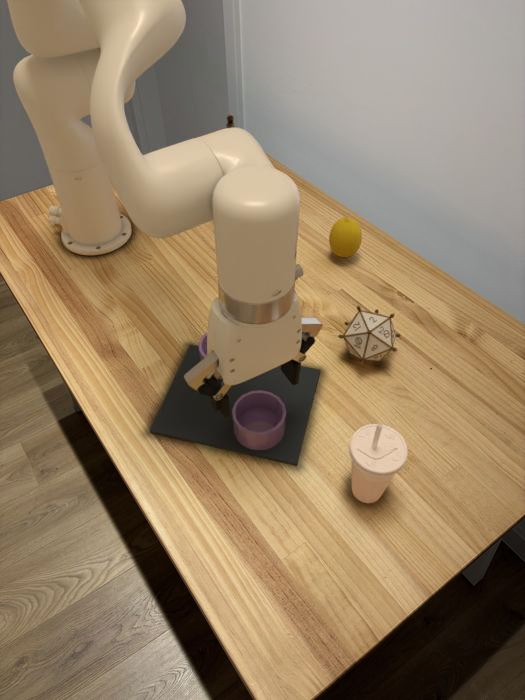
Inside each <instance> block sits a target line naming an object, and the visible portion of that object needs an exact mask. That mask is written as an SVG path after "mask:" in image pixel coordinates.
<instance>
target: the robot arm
mask: <svg viewBox="0 0 525 700" xmlns="http://www.w3.org/2000/svg"><path fill="white" fill-rule="evenodd" d="M6 3H7V6H8V11H9V15H10V20H11V24H12V27H13V30H14V32H15V36H16V38H17V40H18V42H19V44H20V45H21V46H22V48H23V49H24V50H25V51H26V52H27V53H28V54H29V55H28V56H25V57H24V58H21V60H19V62H17V64H16V66H15V67H14V70H13V73H12V79H13V80H12V81H13V85H14V89H15V91H16V93H17V94H16V95H17V96H18V98H19V100H20V102H21V104H22V106H23V108H24V110H25V112H26V114H27V117H28V118H29V120H30V123H31V125H32V127H33V129H34V132H35V134H36V137H37V140H38V142H39V146H40V148H41V150H42V154H43V157H44V160H45V163H46V166H47V169H48V172H49V175H50V178H51V181H52V184H53V187H54V191H55V194H56V197H57V200H58V204H59V205H60V206H57V205H50V206H49V207H48V215H49V217H48V224H53V225H59V226H60V227H61V234H60V237H61V241H62V243H63V244H62V245H64V247H65V248H66V250H68V251H70V252H72V253H75V254H78V255H81V256H100V255H105V254H107V253H111V252H113V251H115V250H118V249H119V248H121V247H122V246H124V245H125V244H126V243H127V242H128V241H129V239H130V238H131V235H132V232H133V229H132V224H131V221H132V223H133V224H134V226H136V227H137V228H138V230H140V231H141V233H143V234H144V235H146V236H148V237H151V238H155V239H168V238H170V237H173V236H176V235H179V234H182V233H185V232H187V231H189V230H192V229H194V228H197V227H199V226H202V225H204V224H206V223H209V222H211V221H213V233H214V245H215V258H216V272H217V273H216V275H217V288H218V297H217V298H215V299H213V300H212V302H211V305H210V308H209V314H208V319H207V329H206V330H207V331H206V332H207V356H206V357H205V358H204V359H203V360H202V361H200V362H199V363H198V364H197V365H196V366H194V367H193V368H192V369H191V370H189V371H188V372H187V373H186V374H185V375H184V378H185V380H186V381H187V383H188V385H189V386H190V387H192V388H193V389H195V390H197V391H198V392H199V393H200V394H201V395H206V396H210V402H211V405H212V407H213V408H214V410H215V411H218V410H220V412H221V414H222V415H223V417H224V418H227V417H229V415H230V408H229V397H228V395H227V394H226V393H227V391H228V390H229V389H230V387H231V386H232V385H236V384H239V383H242V382H244V381H247V380H249V379H251V378H254V377H256V376H258V375H260V374H262V373H265V372H267V371H269V370H271V369H273V368H275V367H278V366H280V365H281V371H282V372H283V373H284V375H285V376H286V377H287V379H288V380H289V381H290V382H291V384H292V385H296V384H298V383H299V372H300V368H301V366H302V363H303V362H304V361H305V360H306V359H307V354H306V353H307V352H308V351H309V350H310V348H312V347H313V345H315V343H316V339H315V338H317V337H318V335H319V333H320V331H321V330H322V329H323V327H324V325H323V323H322V322H321V321H320V320H319V319H318V318H317V317H302V311H301V306H300V305H301V304H300V300H299V297H298V293H297V291H296V287H295V286H296V281H297V280H298V279H299V278H301V277H303V276H304V268H303V267H302V265H301V264H299V263H297V252H298V241H299V239H298V238H299V226H300V212H301V211H300V210H301V195H300V192H299V188H298V186H297V184H296V182H295V181H294V180H293V179H292V177H290V176H289V175H288V174H286V173H285V172H283V171H281V170H279V169H276V168H275V167H274V165H273V164H272V162H271V160H270V159H269V157H268V155H267V154H266V152H265V151H264V149H263V147H262V145H261V144H260V143H259V142H258V140H256V138H255V137H254V136H253V135H252V134H251V133H250V132H249V131H247V130H245V128H244V129H243V128H241V127H235V128H227V127H226V128H223V129H222V128H221V129H219V130H216V131H212V132H210V133H206V134H203V135H201V136H197V137H193V138H189V139H187V140H183V141H180V142H177V143H175V144H171V145H168V146H165V147H162V148H159V149H157V150H153V151H150V152H148V153H145V154H143V153H142V152H141V150H140V149H139V147H138V145H137V143H136V140H135V138H134V135H133V134H132V132H131V129H130V126H129V123H128V119H127V115H126V113H125V112H126V111H125V104H126V103H128V102H130V100H132V98H133V97H134V94H135V91H136V80H138V79H139V77H140V76H142V75H143V74H144V73H145V72H146V71H147V70H148V69H149V68H151V67H152V66H153V65H154V64H155V63H156V62H158V61H159V60H160V59H162V57H164V56H165V54H167V53H168V52H169V51H170V50H171V49H172V47H173V46H174V45H176V44H177V42H178V40H179V39H180V37H181V36H182V34H183V32H184V30H185V26H186V22H187V14H186V9H185V6H184V3H183V1H182V0H6ZM87 116H90V125H91V126H90V125H89V124H87V123H86V122H84V121H83V120H82V119H83V118H86V117H87ZM115 191H116V194H117V196H118V198H119V200H120V202H121V204H122V206H123V208H124V209H125V212H126V213H127V215H128V216H129V218H130V220H131V221H130V220H129V218H128V217H126V216H125V214H122V213H120V210H119V206H118V202H117V197H116V194H115ZM220 376H221V377H222V379H223V381H222V382H221V384H220V383H219V382H218V381H217V379H218V378H219V377H220ZM205 377H206V378H205Z"/></svg>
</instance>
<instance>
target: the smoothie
mask: <svg viewBox="0 0 525 700" xmlns="http://www.w3.org/2000/svg"><path fill="white" fill-rule="evenodd" d="M348 444H349V445H348V455H349V457H350V460H351V462H350V463H351V464H350V465H351V492H352V494H353V496H354V498H355V499H356V500H358V501H360V502H361V503H364V504H374V503H376V502H378V501H379V500H380V498H381V497H382V496H383V494H384V492H385V491H386V489H387V488H388V486H389V485H390V483H391V482H392V480H393V478H394V477H395V476H396V474H399V473H400V472H401V471H402V470H403V469H404V467H405V465H406V464H407V459H408V453H409V451H408V444H407V442H406V439H404V437H403V436H402V434H401V433H399V432H398V431H397V430H396V429H394V428H393V427H391V426H388V425H385V424H383V423H381V422H378V423H368V424H365V425H362V426H361V427H359V428H358V429H356V430H355V431H354V433H352V435H351V438H350V441H349V443H348Z"/></svg>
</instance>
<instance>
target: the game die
mask: <svg viewBox="0 0 525 700" xmlns="http://www.w3.org/2000/svg"><path fill="white" fill-rule="evenodd" d="M356 309H357V312H356V314H355V315H354V316H353V318H351V320H350V321H349V322H348V321H344V322H343V324H344V326H346V329H345V331H344V333H343V334H339V335H338V336H337V338H339V339H343V340H344V342H345V345H346V347H347V349H348V352H349V353H347V354H346V358H350V357H351V356H354V357H356V358H358V359H359V360H360V365H364V364H365V361H368V362H369V361H370V362H378V365H379V366H381V367H382V366H383V361H382V360H383V359H384V358H385V357H386V356H387V355H388V354H389V353H390V352H391V351H392V352H398V349H397V347H394V345H395V343H396V342H395V341H396V338H400V337H401V336H402V335H401V334H400V333H396V331H395V328H394V324H393V321H392V319H393V318H395V313H394V312H393V313H391V314H390V315H389V316H388V315H384V314H381V313H379V309H378V308H377V309H375V310H374V312H372V311H367V310H361V309H362V308H361V306H359V304H357V306H356Z"/></svg>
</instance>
